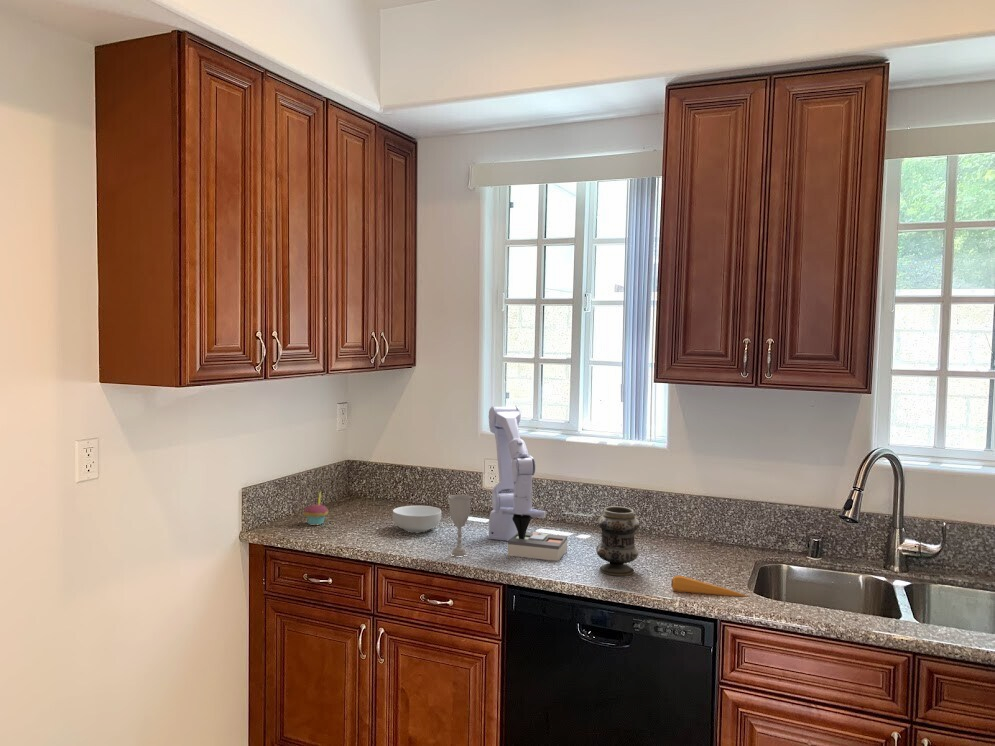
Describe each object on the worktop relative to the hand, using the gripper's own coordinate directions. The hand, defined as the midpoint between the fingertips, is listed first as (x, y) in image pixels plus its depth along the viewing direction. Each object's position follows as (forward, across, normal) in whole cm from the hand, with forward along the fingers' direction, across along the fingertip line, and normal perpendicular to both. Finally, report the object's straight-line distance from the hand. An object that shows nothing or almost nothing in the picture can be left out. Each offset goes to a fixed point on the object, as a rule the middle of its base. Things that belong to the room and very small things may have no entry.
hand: (521, 538), depth 231 cm
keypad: (+4, +5, 0) cm, 6 cm away
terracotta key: (+2, +10, 0) cm, 11 cm away
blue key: (+1, +5, 0) cm, 5 cm away
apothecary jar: (+4, +31, -9) cm, 33 cm away
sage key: (+2, 0, 0) cm, 2 cm away
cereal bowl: (+4, -41, +11) cm, 42 cm away
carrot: (+4, +57, -20) cm, 61 cm away
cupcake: (+4, -77, +5) cm, 77 cm away
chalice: (+4, -17, -11) cm, 20 cm away
